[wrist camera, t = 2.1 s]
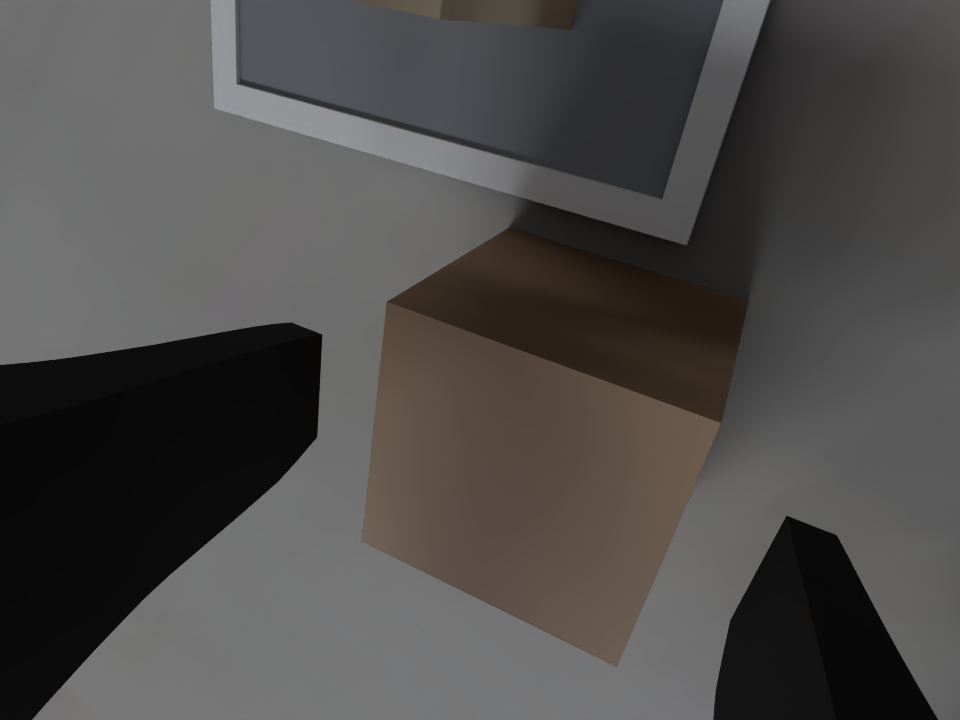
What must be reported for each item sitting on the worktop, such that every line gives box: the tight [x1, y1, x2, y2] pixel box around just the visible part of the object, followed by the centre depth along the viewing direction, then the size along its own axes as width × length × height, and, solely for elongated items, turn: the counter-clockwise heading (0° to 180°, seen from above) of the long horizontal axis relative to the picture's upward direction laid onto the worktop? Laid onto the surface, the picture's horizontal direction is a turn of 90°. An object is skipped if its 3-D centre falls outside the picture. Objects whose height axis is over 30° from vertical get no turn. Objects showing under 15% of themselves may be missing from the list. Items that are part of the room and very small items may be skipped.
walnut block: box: [362, 228, 748, 667], centre depth 11 cm, size 4×4×4 cm
